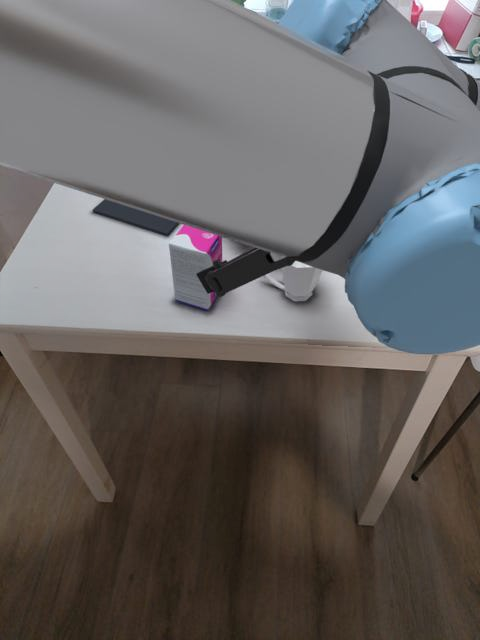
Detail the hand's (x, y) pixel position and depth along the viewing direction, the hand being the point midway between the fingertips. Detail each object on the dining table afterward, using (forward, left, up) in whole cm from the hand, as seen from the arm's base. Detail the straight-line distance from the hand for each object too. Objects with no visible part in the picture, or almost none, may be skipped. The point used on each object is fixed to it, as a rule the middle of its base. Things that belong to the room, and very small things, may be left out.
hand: (245, 255), depth 60 cm
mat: (-29, +23, -14) cm, 40 cm away
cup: (+3, +10, -14) cm, 18 cm away
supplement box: (-9, +3, -14) cm, 17 cm away
